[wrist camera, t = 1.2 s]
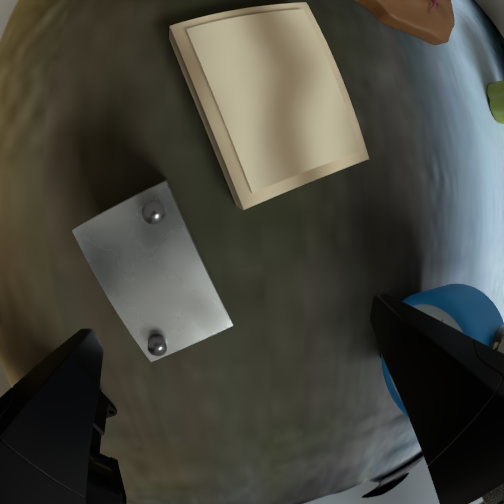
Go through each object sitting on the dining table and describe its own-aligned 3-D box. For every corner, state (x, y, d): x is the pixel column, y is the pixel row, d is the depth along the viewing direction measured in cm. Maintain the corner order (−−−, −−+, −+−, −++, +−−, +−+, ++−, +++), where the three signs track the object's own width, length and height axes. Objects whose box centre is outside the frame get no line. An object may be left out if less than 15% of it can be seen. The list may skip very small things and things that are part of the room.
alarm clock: (392, 271, 25) (522, 342, 11) (430, 265, 26) (543, 319, 13) (367, 379, 28) (450, 463, 14) (404, 364, 30) (484, 432, 16)
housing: (153, 312, 20) (150, 368, 13) (100, 212, 17) (67, 232, 11) (214, 284, 20) (235, 331, 14) (167, 179, 18) (165, 181, 11)
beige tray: (236, 206, 19) (245, 210, 17) (169, 38, 15) (169, 23, 12) (353, 159, 21) (371, 158, 18) (295, 13, 16) (308, 0, 14)
